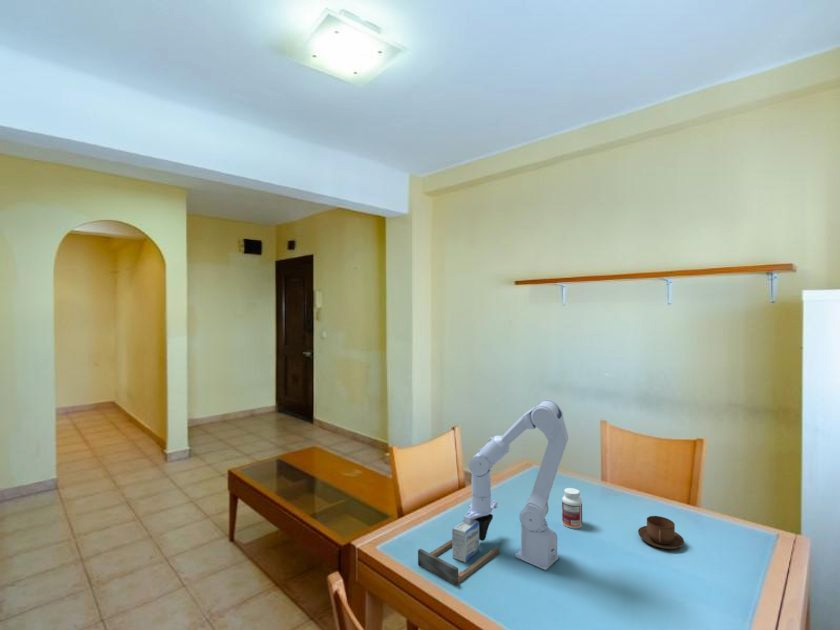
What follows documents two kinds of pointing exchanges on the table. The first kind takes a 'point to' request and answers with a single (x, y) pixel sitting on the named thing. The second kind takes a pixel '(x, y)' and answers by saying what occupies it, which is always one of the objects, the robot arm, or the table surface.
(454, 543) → the medicine box
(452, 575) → the u-shaped wooden frame
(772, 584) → the table surface
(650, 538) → the cup and saucer
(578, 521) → the pill bottle
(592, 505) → the table surface
